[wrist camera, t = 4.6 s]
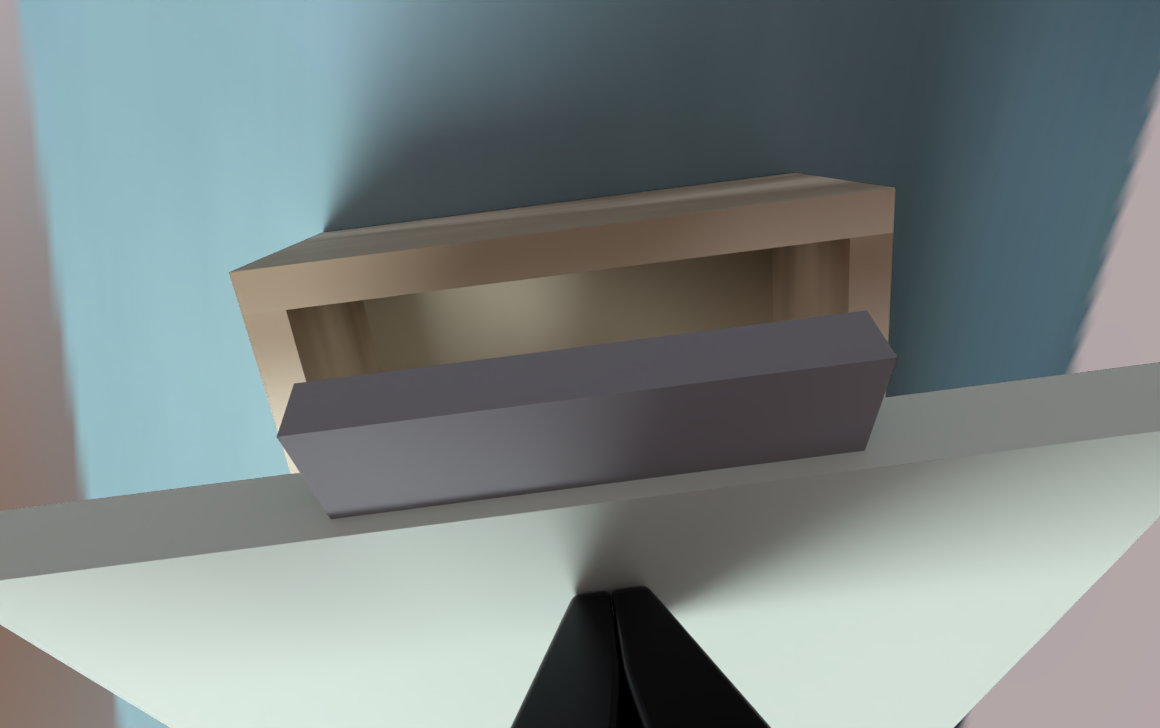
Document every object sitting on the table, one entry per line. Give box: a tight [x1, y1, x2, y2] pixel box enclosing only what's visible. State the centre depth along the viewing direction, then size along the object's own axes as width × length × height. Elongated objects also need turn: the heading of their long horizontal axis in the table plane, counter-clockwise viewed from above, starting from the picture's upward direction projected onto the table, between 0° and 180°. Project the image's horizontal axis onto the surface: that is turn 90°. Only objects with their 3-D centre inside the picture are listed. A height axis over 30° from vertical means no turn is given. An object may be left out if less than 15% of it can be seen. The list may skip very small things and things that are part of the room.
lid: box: [0, 310, 1160, 728], centre depth 11 cm, size 16×12×1 cm
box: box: [229, 173, 895, 474], centre depth 16 cm, size 14×12×5 cm
